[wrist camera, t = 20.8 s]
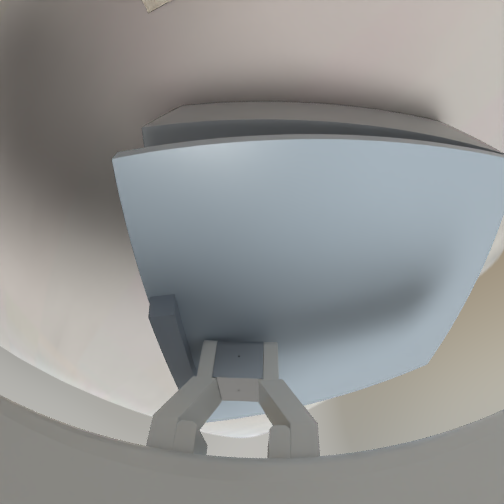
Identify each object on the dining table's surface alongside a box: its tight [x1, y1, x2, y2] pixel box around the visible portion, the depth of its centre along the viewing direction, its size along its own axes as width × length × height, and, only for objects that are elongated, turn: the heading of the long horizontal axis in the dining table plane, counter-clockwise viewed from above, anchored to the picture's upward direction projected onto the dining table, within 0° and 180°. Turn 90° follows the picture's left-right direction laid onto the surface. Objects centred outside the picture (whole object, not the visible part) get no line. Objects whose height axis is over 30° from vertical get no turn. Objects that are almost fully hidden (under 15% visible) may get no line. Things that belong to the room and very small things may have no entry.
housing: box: [142, 101, 504, 155], centre depth 16 cm, size 16×15×6 cm
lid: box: [112, 134, 504, 422], centre depth 12 cm, size 16×15×2 cm
